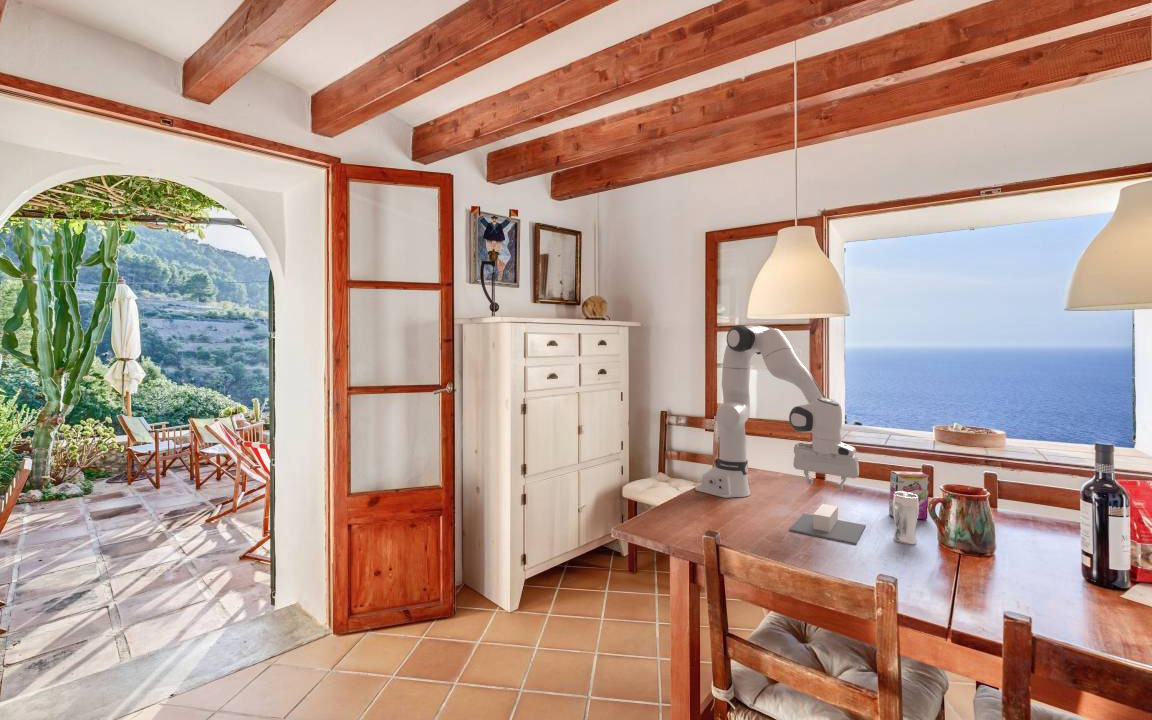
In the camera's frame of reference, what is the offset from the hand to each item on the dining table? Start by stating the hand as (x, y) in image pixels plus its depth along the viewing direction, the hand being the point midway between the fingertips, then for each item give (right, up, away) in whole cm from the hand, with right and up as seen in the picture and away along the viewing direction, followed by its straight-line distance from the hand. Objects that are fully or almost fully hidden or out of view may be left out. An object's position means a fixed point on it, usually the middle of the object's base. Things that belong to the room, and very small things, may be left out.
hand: (824, 486), depth 177 cm
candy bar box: (+35, -14, +10) cm, 40 cm away
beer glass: (+20, -15, -12) cm, 28 cm away
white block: (+5, -11, +7) cm, 14 cm away
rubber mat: (+1, -14, -1) cm, 14 cm away
